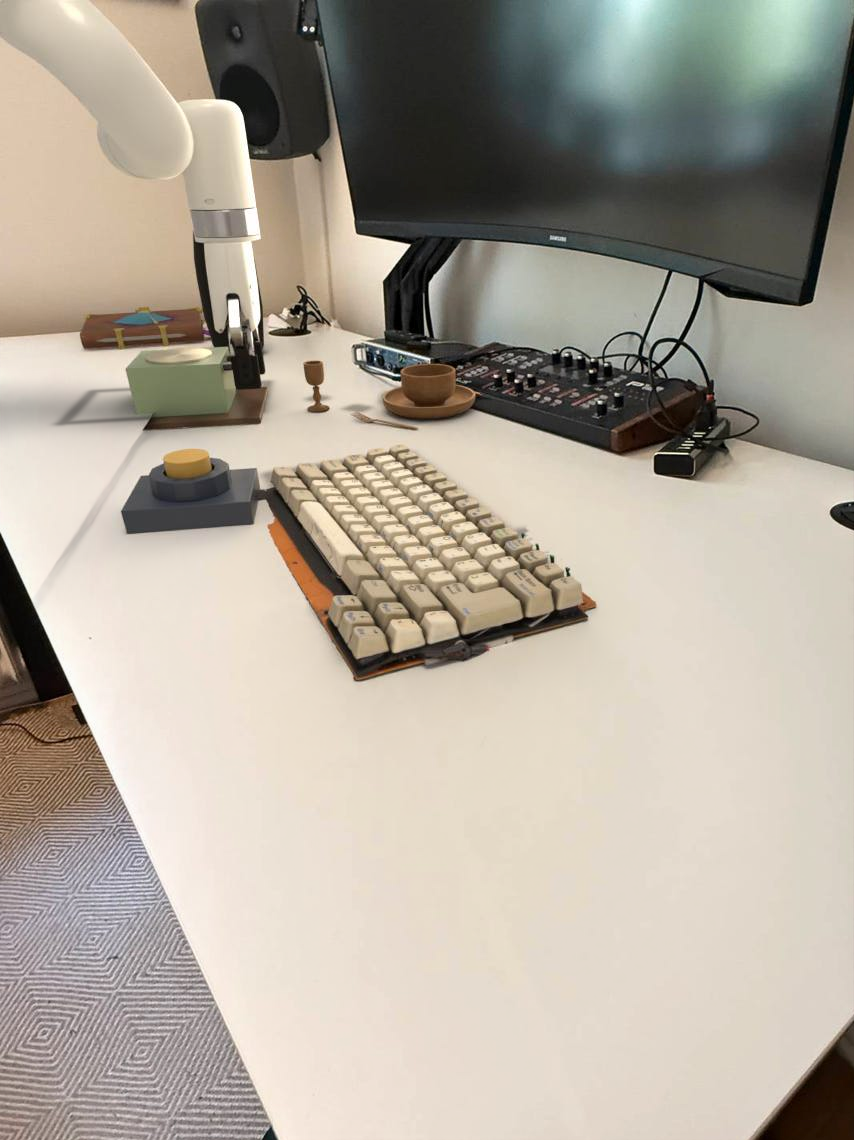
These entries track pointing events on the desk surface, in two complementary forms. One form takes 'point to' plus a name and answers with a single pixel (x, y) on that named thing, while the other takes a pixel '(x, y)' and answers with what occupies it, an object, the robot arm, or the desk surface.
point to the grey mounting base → (192, 500)
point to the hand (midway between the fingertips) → (251, 380)
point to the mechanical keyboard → (410, 563)
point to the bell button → (187, 463)
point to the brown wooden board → (242, 411)
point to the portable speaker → (203, 286)
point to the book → (142, 328)
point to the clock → (182, 381)
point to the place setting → (409, 393)
